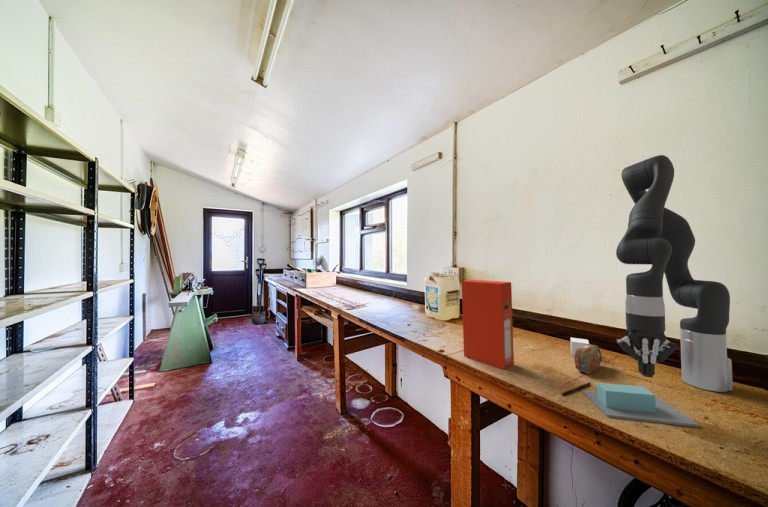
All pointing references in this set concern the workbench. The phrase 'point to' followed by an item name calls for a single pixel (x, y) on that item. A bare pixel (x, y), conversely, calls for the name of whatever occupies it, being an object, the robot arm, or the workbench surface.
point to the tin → (587, 358)
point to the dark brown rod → (576, 389)
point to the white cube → (577, 344)
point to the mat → (645, 413)
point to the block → (626, 397)
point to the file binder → (488, 322)
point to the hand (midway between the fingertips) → (646, 375)
